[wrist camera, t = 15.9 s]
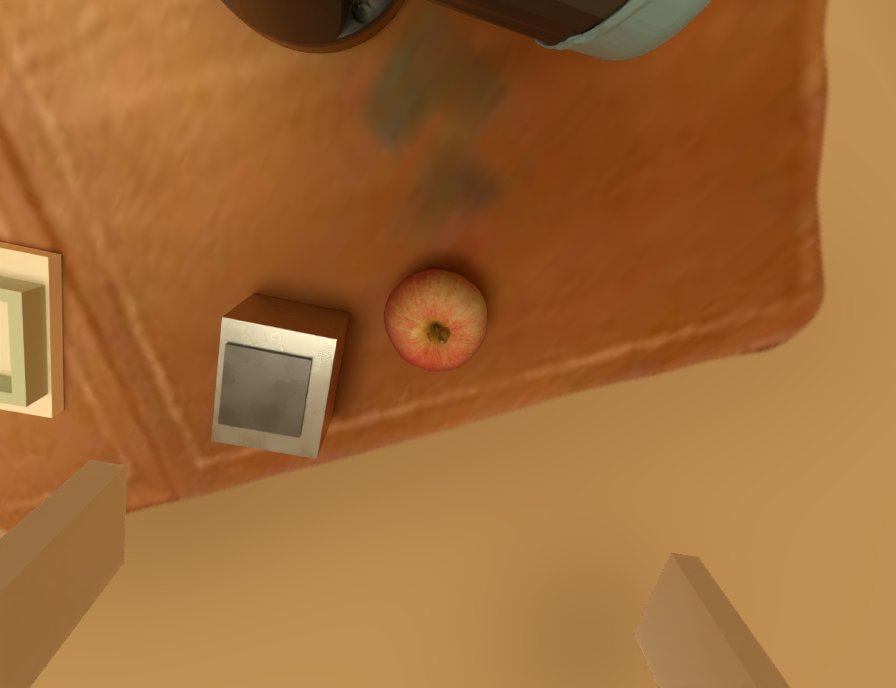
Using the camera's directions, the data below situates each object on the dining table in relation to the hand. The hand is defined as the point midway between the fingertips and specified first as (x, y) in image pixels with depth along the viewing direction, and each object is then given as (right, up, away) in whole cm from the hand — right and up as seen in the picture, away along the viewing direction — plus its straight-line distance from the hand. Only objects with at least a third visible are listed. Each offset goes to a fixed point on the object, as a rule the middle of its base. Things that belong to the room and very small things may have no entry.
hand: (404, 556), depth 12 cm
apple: (0, +8, +31) cm, 32 cm away
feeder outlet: (-12, +4, +32) cm, 34 cm away
